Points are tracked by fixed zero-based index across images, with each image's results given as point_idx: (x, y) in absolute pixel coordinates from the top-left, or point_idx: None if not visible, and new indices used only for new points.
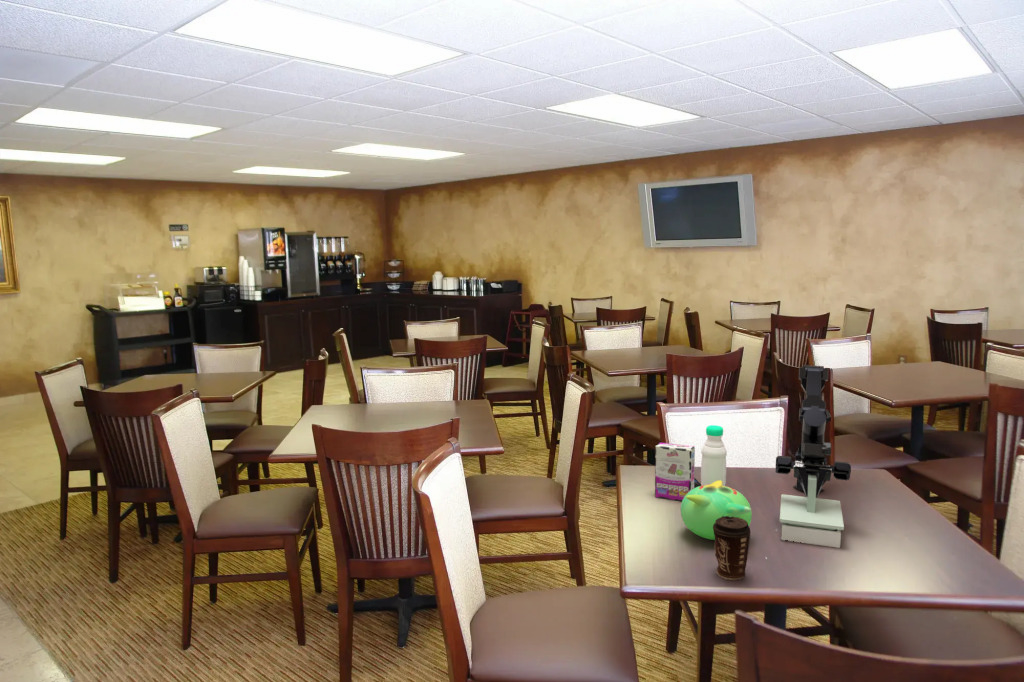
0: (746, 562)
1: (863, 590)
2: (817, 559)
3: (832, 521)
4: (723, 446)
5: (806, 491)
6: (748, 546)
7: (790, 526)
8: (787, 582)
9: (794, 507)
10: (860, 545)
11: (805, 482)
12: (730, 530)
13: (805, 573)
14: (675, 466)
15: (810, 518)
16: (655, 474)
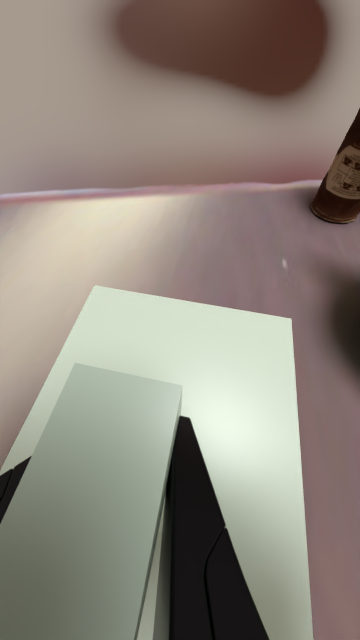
0: (323, 179)
1: (145, 197)
2: (186, 269)
3: (111, 321)
4: None
5: (186, 432)
6: (342, 143)
7: None
8: (247, 202)
9: (231, 472)
10: (60, 347)
11: (191, 522)
12: None
13: (217, 225)
14: None
15: (182, 339)
16: None
